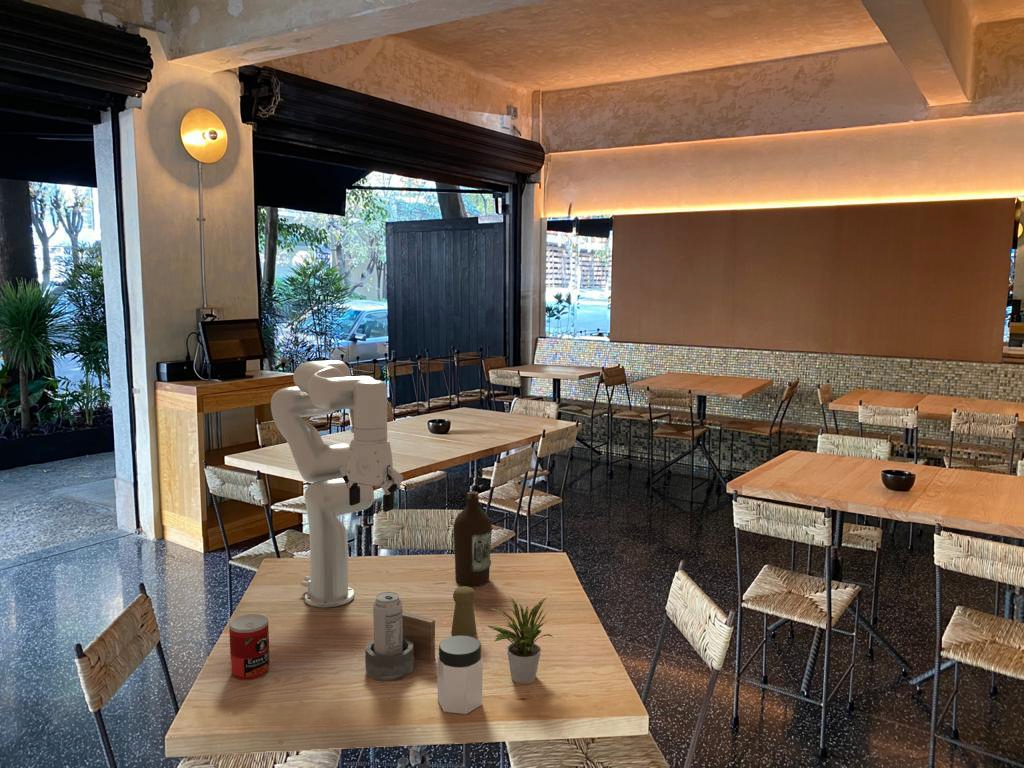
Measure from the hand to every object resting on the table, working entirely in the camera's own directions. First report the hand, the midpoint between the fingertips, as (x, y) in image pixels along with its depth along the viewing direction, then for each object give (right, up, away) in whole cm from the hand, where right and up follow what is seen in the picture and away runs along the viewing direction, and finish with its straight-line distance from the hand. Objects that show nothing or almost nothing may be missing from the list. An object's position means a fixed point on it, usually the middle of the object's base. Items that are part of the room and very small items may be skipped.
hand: (371, 507), depth 172 cm
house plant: (+35, -33, -15) cm, 50 cm away
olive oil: (+21, -27, +36) cm, 50 cm away
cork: (+21, -31, +4) cm, 37 cm away
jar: (+22, -34, -26) cm, 48 cm away
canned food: (-23, -32, -15) cm, 42 cm away
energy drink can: (+6, -31, -13) cm, 35 cm away
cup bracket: (+7, -32, -12) cm, 35 cm away
